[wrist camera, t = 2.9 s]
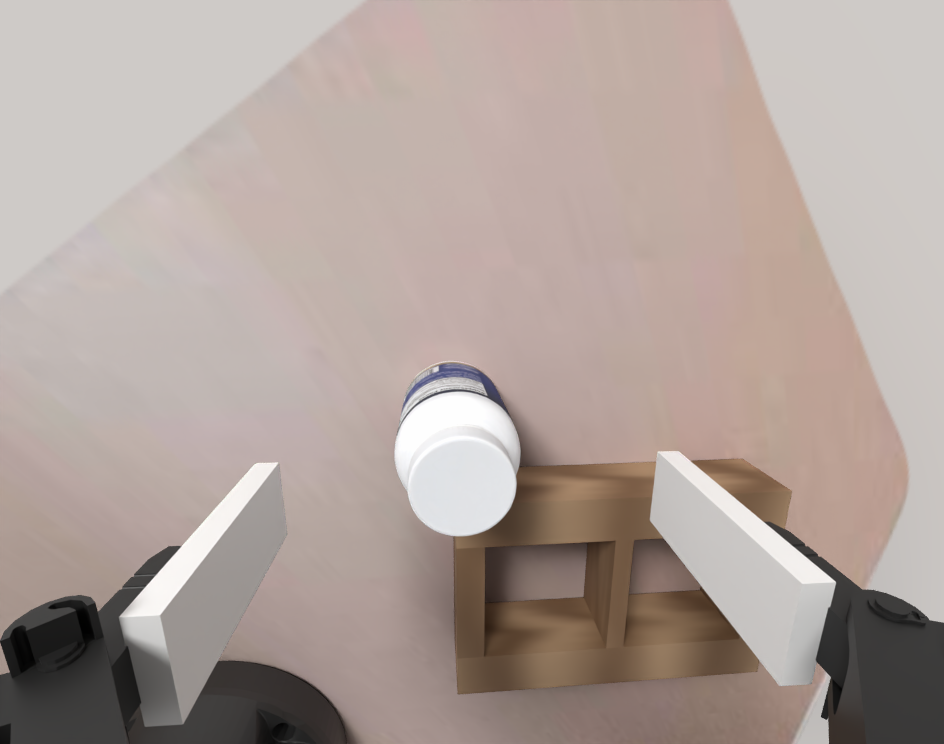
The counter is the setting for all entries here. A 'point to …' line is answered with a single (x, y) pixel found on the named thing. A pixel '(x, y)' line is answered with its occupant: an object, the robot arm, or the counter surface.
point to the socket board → (596, 586)
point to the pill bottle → (457, 450)
